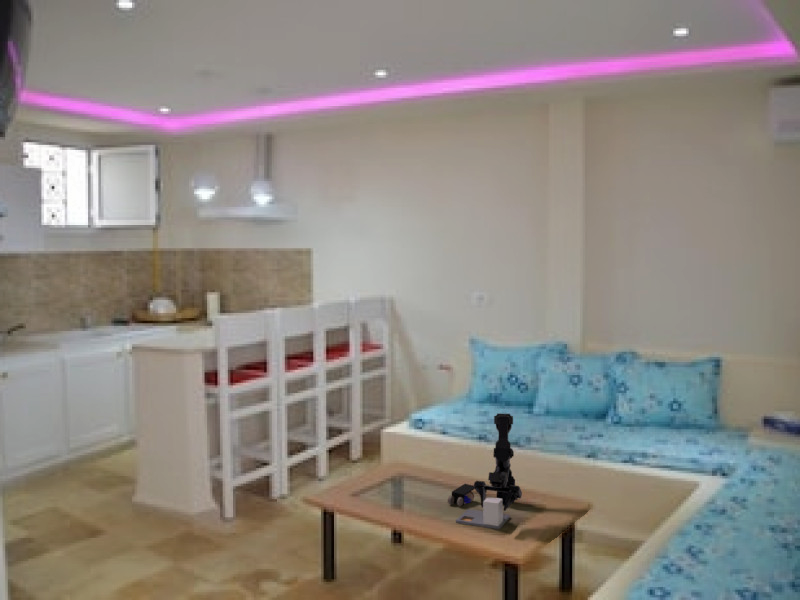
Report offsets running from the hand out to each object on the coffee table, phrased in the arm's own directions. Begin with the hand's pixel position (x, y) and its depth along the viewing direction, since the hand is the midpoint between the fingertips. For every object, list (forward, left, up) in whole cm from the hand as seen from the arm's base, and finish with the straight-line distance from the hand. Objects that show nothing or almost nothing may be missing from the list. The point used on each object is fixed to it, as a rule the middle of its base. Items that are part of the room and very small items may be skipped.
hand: (493, 508), depth 280 cm
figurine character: (-13, -27, -8) cm, 31 cm away
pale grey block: (0, 0, -8) cm, 8 cm away
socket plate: (-1, -6, -8) cm, 10 cm away
